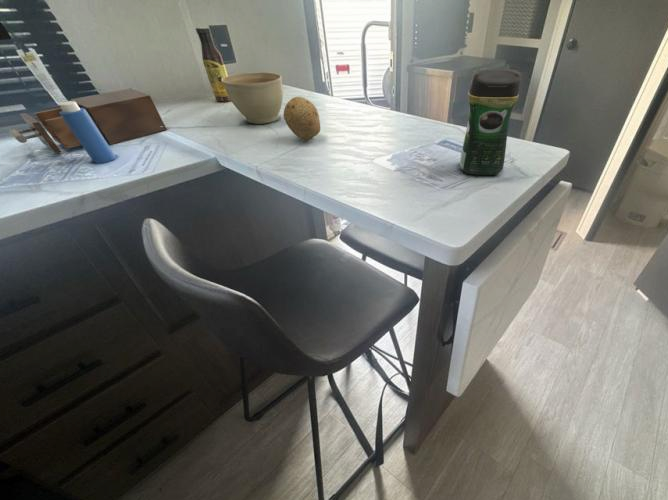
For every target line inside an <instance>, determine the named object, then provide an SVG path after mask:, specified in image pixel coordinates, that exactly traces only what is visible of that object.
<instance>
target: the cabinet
mask: <svg viewBox="0 0 668 500" xmlns="http://www.w3.org/2000/svg"><path fill="white" fill-rule="evenodd" d="M70 101H75V102H76V103H77V105H78V106H80V107H82V108H84V109H86V110H88V111H89V113H90V114H91V116H92V117H93V119H94V120H95V122H96V123H97V125H98V127H99V128H100V130H101V131H102V133H103V134H104V136H105V138H106V139H105V141H106V142H107V144H108V145H114V144H117V143H123V142H125V141H129V140H134V139H137V138H141V137H144V136H149V135H152V134H156V133H160V132H164V131H167V127H166V124H165V123H164V121H163V119H162V117H161V115H160V113H159V111H158V109H157V107H156V105H155V103H154V101H153V99H152V97H151V94H148V93H144V92H142V91H139V90H136V89H133V88H126V89H119V90H114V91H109V92H104V93H98V94H94V95H93V94H92V95H87V96H82V97H75V98H70ZM160 126H163V127H160Z"/></svg>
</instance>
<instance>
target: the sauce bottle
mask: <svg viewBox="0 0 668 500" xmlns="http://www.w3.org/2000/svg"><path fill="white" fill-rule="evenodd" d="M195 31H196V34H197V35H198V38H199V40H200V45H201V46H200V47H201V55H202V63H203V66H204V69H205V73H206V75H207V78H208V81H209V84H210V87H211V89H212V92H213V95H214V97H215V100H216V101H218V102H221V103H223V102H225V103H226V102H227V103H228V102H232V101H231V100H230V98H229V96H228V94H227V92H226V89H225V87H224V85H223V83H222V81H221V80H222V78H224V77H227V76H229V75H228V71H227V68H226V65H225V63H224V59H223V56H222V54H221V52H220V50H218V48H217V47H216V45H215V42H214V39H213V37H212V31H211V28H210V27H209V26H196V27H195Z"/></svg>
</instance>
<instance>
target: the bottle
mask: <svg viewBox="0 0 668 500" xmlns="http://www.w3.org/2000/svg"><path fill="white" fill-rule="evenodd" d="M58 106H59V108H61V109H62V110H63V111H61V112H59V113H60V115H61V116H62V118H63V119H64V121H65V122H66V123H67V125H68V126H69V128H70V129H71V130H72V132H73V133H74V135H75V136H76V138H77V139H78V140H79V142H80V143H81V145H80V146H82V148H83V149H84V150H85V151H86V153H87V155H88V156H89V158H90V159H91V161H92V162H93V163H95V164H103V163H108V162H112V161H113V160H115V159H116V158H117V156H116V155H115V153H114V151H113V149H111V147H110V144H109V143H107V142H106V141H105V139H104V138H103V136H102V134H101V133H100V131H99V130H98V128H97V127H96V125H95V124H94V122H93V121H92V119H91V117H90V116H89V114H88V113H87V111H86V110H85V109H84V108H79V106H78V105H77V103H76V102H75V101H71V100H66V101H61V102H59V103H58Z"/></svg>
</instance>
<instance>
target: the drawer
mask: <svg viewBox="0 0 668 500" xmlns="http://www.w3.org/2000/svg"><path fill="white" fill-rule="evenodd" d="M79 108H82V107H80V106H79ZM85 110H86V109H85ZM61 111H63V110H62V109H61V108H60V107H57V108H52V109H47V110H42V111H38V112H33V114H34V115H35V116H36V118H37V119H38V120H39V121H38V120H37V119H35V118H34V117H32V116H31V115H30V114H28V113H26V112H23V113H19V115H20V117H21V118H22V119H23V120H24V122H25V123H26V124H27V126H28V127H29V128H24V129H20V130H16V129H14V128H11V129H9V130H8V133H9V135H11V137H12V138H14V139H15V140H16V141H18V142H19V143H21V144H26V143H27V141H28V140H30V139H35V138H38V140H39V141H40V142H41V143H42V144H43V145H44V146H45V147H47V148H48V149H49V150H50V151H52V152H53V153H54V154H55V155H56V154H61V153H62V150H61V149H60V148H59V146H58V145H57V144H56V143H58V144H59V145H60V146H62V147H64V149H71V148H75V147H78V146H82V145H81V143H80V142H79V140H78V139H77V138H76V136H75V135H74V133H73V132H72V130H71V129H70V128H69V126H68V125H67V123H66V122H65V121H64V119H63V118H62V116H61V115H60V113H59V112H61ZM86 111H87V113H88V114H89V116H90V117H91V119H92V121H93V122H94V124H95V125H96V127H97V128H98V130H99V131H100V133H101V134H102V136H103V138H104V139H106V138H105V136H104V134H103V133H102V131H101V130H100V128H99V127H98V125H97V123H96V122H95V120H94V119H93V117H92V116H91V114H90V113H89V111H88V110H86ZM31 132H33V133H32V134H28V135H23V134H27V133H31Z"/></svg>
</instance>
